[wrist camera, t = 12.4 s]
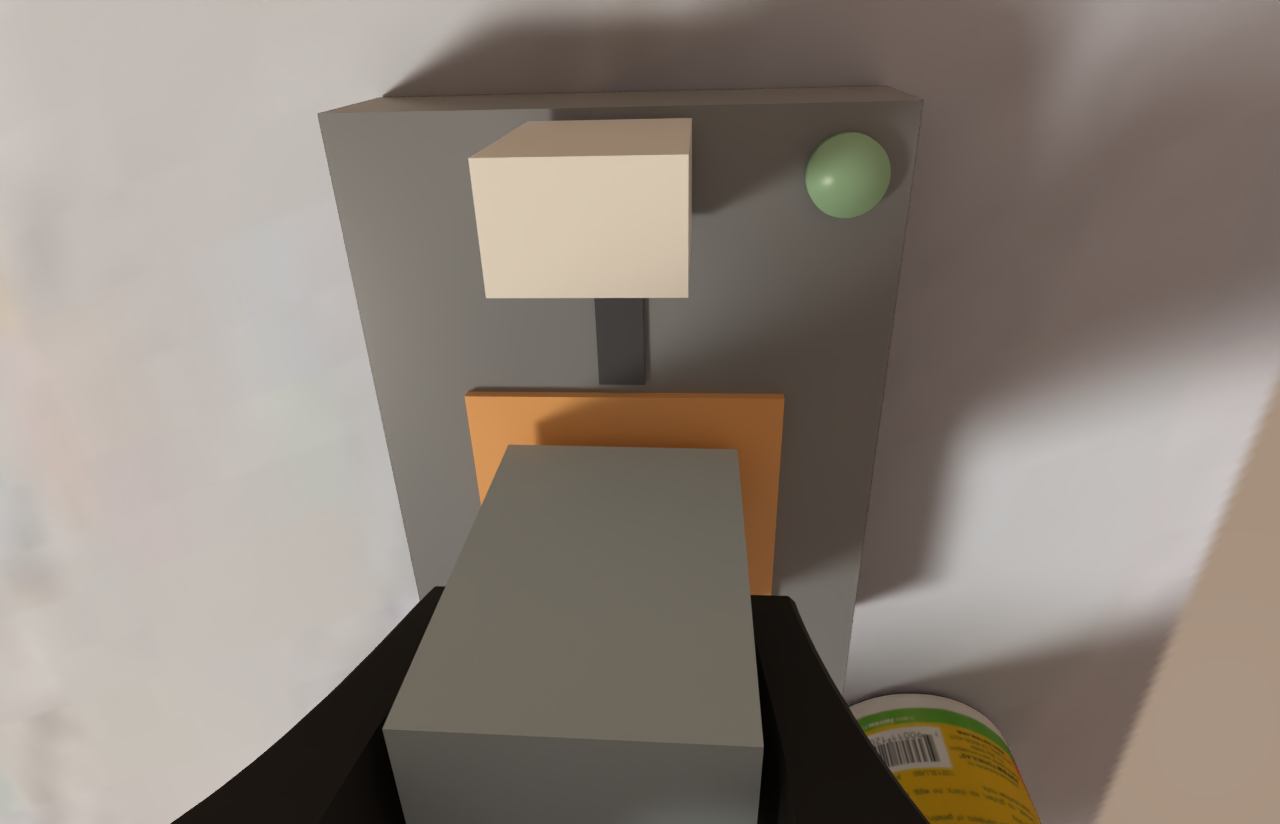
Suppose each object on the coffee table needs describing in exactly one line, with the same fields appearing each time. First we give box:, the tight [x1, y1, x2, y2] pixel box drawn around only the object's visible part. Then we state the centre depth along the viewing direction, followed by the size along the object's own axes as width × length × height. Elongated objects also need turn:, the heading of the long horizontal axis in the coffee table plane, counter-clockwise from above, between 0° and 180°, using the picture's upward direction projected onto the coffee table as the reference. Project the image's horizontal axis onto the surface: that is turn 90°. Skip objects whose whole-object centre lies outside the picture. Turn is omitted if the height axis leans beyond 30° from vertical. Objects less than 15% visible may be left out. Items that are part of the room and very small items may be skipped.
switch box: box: [318, 86, 923, 697], centre depth 15 cm, size 12×9×3 cm
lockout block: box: [382, 445, 764, 824], centre depth 11 cm, size 4×4×6 cm
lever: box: [468, 118, 692, 298], centre depth 10 cm, size 2×2×3 cm
